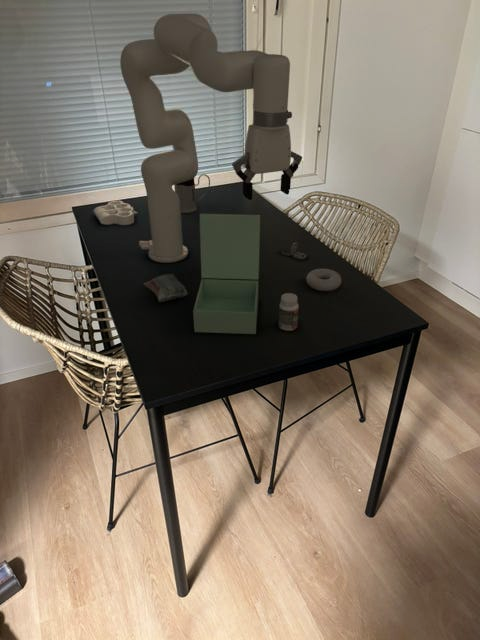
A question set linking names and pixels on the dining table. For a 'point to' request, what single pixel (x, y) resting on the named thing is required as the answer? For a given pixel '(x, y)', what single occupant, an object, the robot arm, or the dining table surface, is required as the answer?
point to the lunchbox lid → (230, 246)
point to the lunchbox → (226, 306)
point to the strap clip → (292, 252)
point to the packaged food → (166, 287)
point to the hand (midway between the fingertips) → (266, 195)
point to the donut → (323, 279)
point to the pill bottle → (288, 312)
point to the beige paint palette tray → (115, 213)
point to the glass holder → (188, 195)
